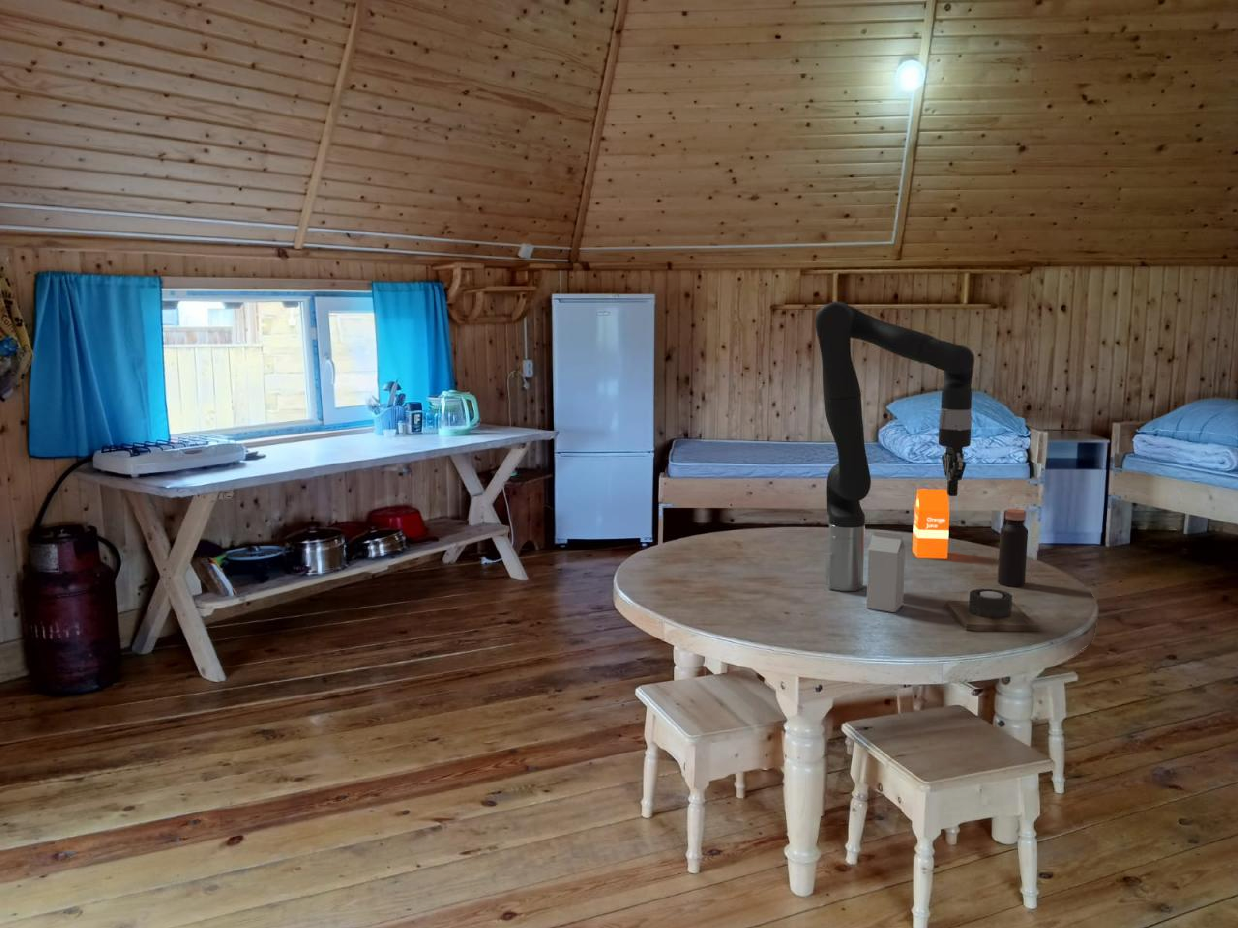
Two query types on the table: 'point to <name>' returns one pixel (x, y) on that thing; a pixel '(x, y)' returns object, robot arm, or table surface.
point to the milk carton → (885, 571)
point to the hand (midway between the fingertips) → (951, 495)
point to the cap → (991, 594)
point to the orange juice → (931, 524)
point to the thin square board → (990, 613)
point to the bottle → (1013, 549)
